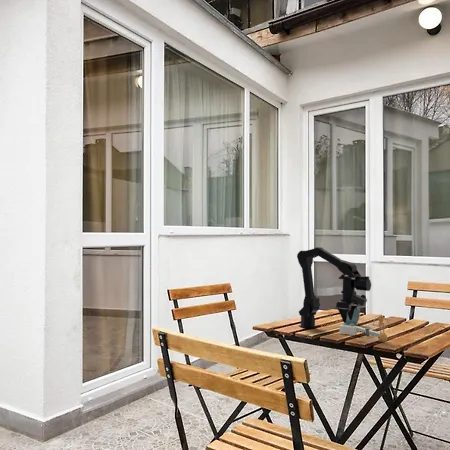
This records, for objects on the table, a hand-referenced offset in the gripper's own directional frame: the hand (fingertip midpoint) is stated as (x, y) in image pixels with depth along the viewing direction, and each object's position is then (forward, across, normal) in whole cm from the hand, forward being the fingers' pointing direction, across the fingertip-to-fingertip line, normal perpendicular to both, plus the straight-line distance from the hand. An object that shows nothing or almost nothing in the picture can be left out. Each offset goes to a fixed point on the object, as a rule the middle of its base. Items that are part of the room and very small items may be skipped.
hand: (347, 321), depth 227 cm
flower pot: (+6, +25, +6) cm, 27 cm away
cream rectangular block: (+6, 0, 0) cm, 6 cm away
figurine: (+6, -8, -18) cm, 20 cm away
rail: (+6, +7, -5) cm, 11 cm away
